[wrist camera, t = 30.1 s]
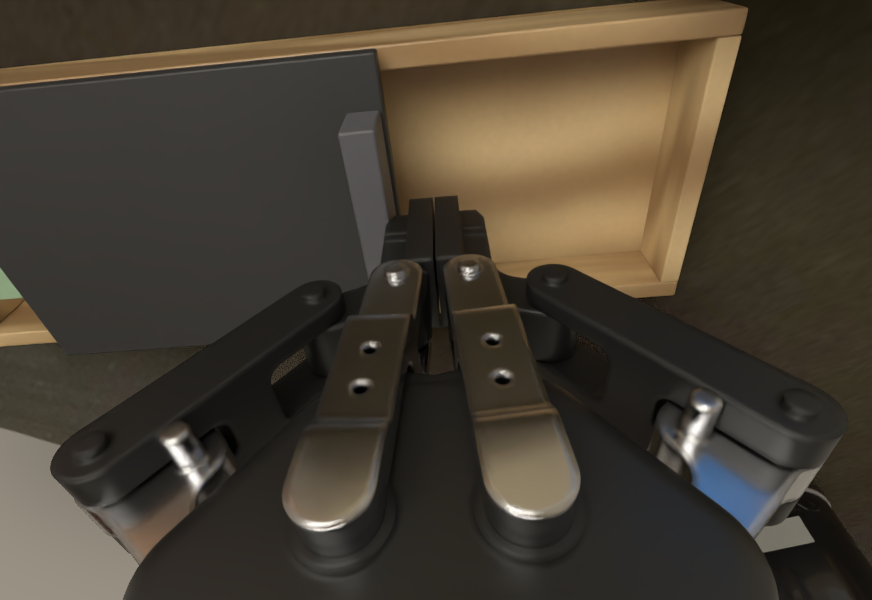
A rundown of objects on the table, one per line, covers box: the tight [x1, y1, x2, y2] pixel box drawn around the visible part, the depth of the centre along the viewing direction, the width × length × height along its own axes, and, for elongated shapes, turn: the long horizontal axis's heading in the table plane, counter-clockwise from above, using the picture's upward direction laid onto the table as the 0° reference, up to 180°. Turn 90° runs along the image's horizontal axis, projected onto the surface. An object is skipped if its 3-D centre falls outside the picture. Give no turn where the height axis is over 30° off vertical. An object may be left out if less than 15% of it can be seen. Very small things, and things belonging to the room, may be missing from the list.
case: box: [0, 0, 748, 347], centre depth 18 cm, size 10×29×3 cm, turn 95°
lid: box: [0, 48, 401, 355], centre depth 16 cm, size 10×14×2 cm
